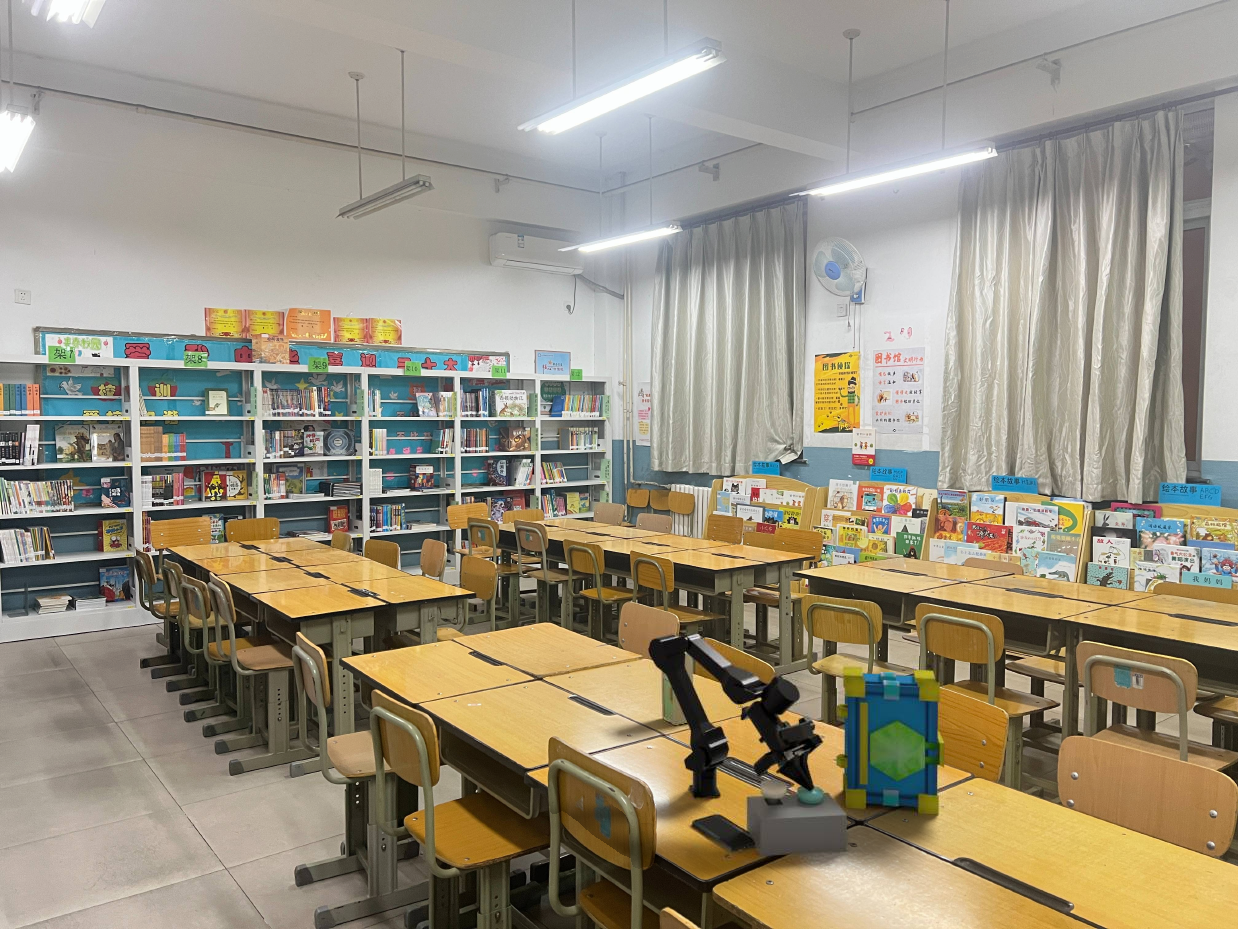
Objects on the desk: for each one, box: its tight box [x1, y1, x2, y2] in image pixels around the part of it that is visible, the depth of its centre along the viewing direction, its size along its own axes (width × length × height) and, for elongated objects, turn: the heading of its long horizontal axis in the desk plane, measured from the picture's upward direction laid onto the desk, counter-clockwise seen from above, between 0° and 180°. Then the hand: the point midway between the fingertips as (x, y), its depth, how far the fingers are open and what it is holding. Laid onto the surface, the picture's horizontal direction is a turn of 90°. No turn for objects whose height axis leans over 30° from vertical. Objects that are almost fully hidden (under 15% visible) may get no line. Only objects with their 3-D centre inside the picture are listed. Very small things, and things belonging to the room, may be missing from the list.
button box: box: [746, 792, 848, 857], centre depth 181 cm, size 11×18×8 cm, turn 96°
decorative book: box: [835, 666, 945, 816], centre depth 199 cm, size 14×23×30 cm, turn 78°
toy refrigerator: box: [661, 652, 694, 726], centre depth 256 cm, size 8×7×21 cm
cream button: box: [760, 779, 788, 805], centre depth 183 cm, size 5×5×5 cm
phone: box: [691, 813, 755, 853], centre depth 184 cm, size 8×1×15 cm
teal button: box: [796, 785, 824, 804], centre depth 184 cm, size 5×5×5 cm
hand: (812, 790), depth 183 cm, fingers closed, pressing on teal button
